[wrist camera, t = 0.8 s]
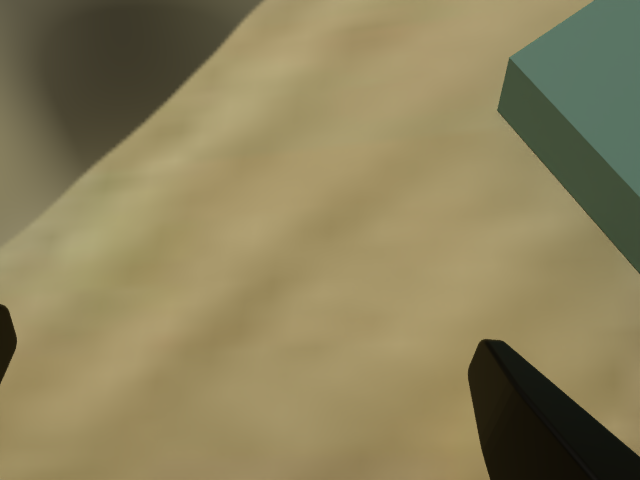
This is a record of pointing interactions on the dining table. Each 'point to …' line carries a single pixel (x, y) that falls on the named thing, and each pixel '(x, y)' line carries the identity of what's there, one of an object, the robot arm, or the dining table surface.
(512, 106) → the socket block
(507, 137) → the dining table surface
